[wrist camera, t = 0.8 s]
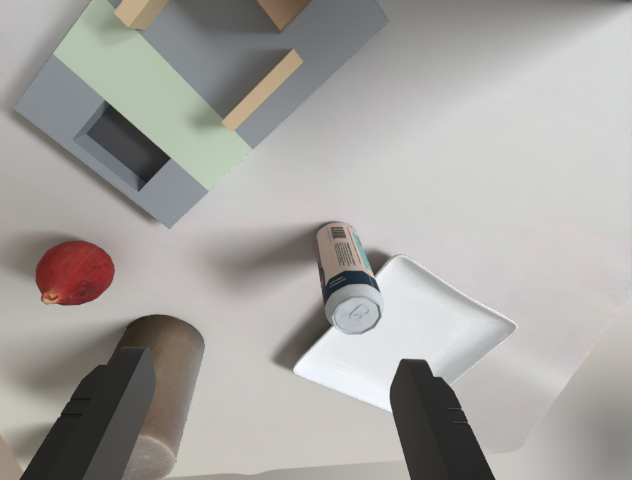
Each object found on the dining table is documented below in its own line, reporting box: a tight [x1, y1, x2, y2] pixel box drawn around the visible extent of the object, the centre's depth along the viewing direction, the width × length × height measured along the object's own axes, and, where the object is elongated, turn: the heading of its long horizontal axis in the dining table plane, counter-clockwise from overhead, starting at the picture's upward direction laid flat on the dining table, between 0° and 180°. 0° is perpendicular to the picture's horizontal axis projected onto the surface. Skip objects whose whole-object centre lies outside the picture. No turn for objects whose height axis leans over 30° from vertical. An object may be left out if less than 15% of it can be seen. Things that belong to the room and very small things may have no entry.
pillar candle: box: [107, 315, 205, 480], centre depth 35 cm, size 10×10×15 cm
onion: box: [36, 241, 115, 305], centre depth 31 cm, size 6×6×8 cm
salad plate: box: [292, 254, 518, 413], centre depth 43 cm, size 21×21×3 cm
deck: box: [13, 0, 388, 229], centre depth 24 cm, size 25×14×6 cm, turn 131°
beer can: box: [314, 222, 384, 335], centre depth 31 cm, size 5×5×12 cm
